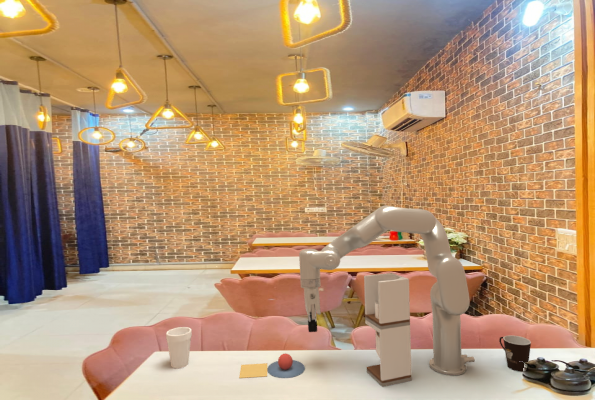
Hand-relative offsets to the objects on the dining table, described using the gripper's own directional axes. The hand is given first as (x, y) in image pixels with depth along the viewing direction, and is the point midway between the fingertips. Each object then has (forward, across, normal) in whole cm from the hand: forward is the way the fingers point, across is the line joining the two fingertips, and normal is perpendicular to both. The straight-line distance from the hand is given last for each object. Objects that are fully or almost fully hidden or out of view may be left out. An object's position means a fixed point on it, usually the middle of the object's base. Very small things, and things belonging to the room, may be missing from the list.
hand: (312, 331), depth 136 cm
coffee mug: (+15, -9, -73) cm, 75 cm away
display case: (+14, -10, -25) cm, 31 cm away
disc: (+13, 0, +11) cm, 17 cm away
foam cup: (+13, +9, +52) cm, 54 cm away
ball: (+11, 0, +11) cm, 15 cm away
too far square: (+13, 0, +23) cm, 26 cm away
